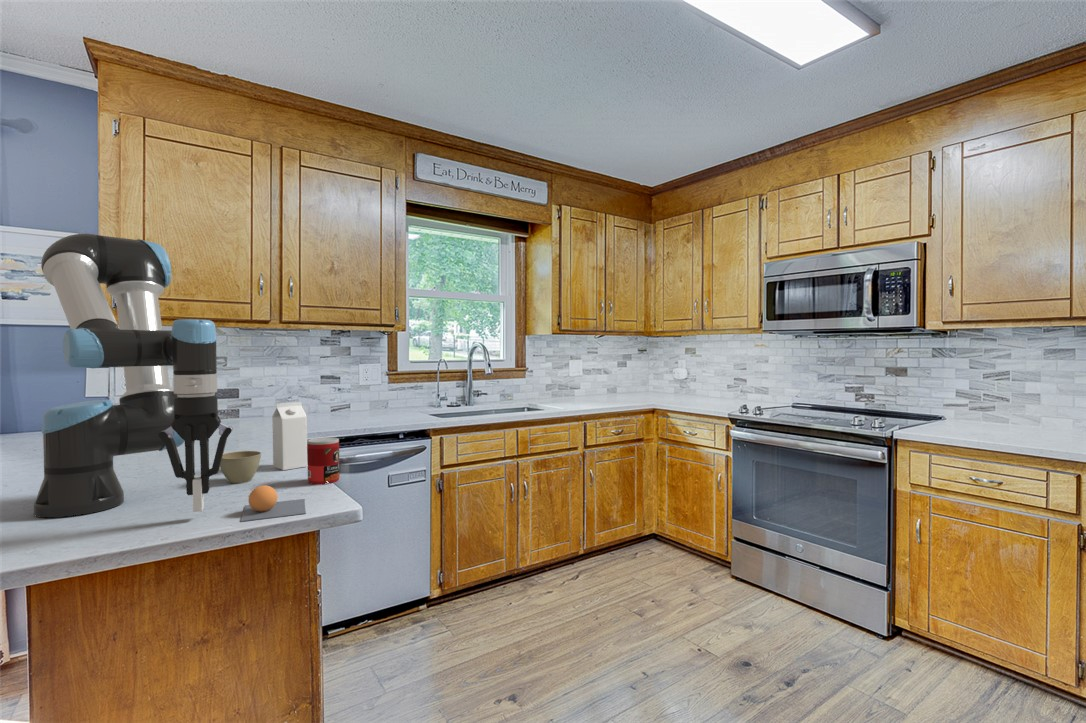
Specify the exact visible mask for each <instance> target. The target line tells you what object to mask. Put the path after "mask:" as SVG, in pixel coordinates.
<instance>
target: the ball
mask: <svg viewBox="0 0 1086 723" xmlns="http://www.w3.org/2000/svg"><path fill="white" fill-rule="evenodd" d="M276 502H278V493H277V491H276V490H275V488H274V487H272V486H269V485H265V484H264V485H263V484H262V485H259V486H257V487H255V488H253V489H252V490H251V492H250V493H249V495H248V505H250V507H251V508H252V509H253V510H255V511H258V512H264V511H268V510H270V509H271V508H272V507H273V506H274V505H275V504H276Z"/></svg>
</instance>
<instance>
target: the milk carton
mask: <svg viewBox="0 0 1086 723" xmlns="http://www.w3.org/2000/svg"><path fill="white" fill-rule="evenodd" d="M302 403H303V402H302V401H297V402H284V403H276V409H275V410H274V412H273V414H272V419H271V420H272V464H273V468H275V469H279V470H282V471H287V470H293V469H301V468H305V467H308V466H307V441H308V420H307V419H308V418H307V414H306V412H305V410H304V408H303V406H302Z"/></svg>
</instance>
